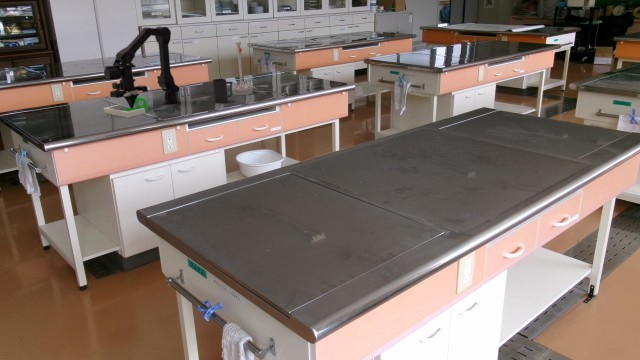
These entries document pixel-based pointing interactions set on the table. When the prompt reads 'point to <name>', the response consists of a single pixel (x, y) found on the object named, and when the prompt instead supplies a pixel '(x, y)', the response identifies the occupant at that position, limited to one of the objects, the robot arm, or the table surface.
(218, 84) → the mug
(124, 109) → the mechanical part
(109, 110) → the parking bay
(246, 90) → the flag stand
